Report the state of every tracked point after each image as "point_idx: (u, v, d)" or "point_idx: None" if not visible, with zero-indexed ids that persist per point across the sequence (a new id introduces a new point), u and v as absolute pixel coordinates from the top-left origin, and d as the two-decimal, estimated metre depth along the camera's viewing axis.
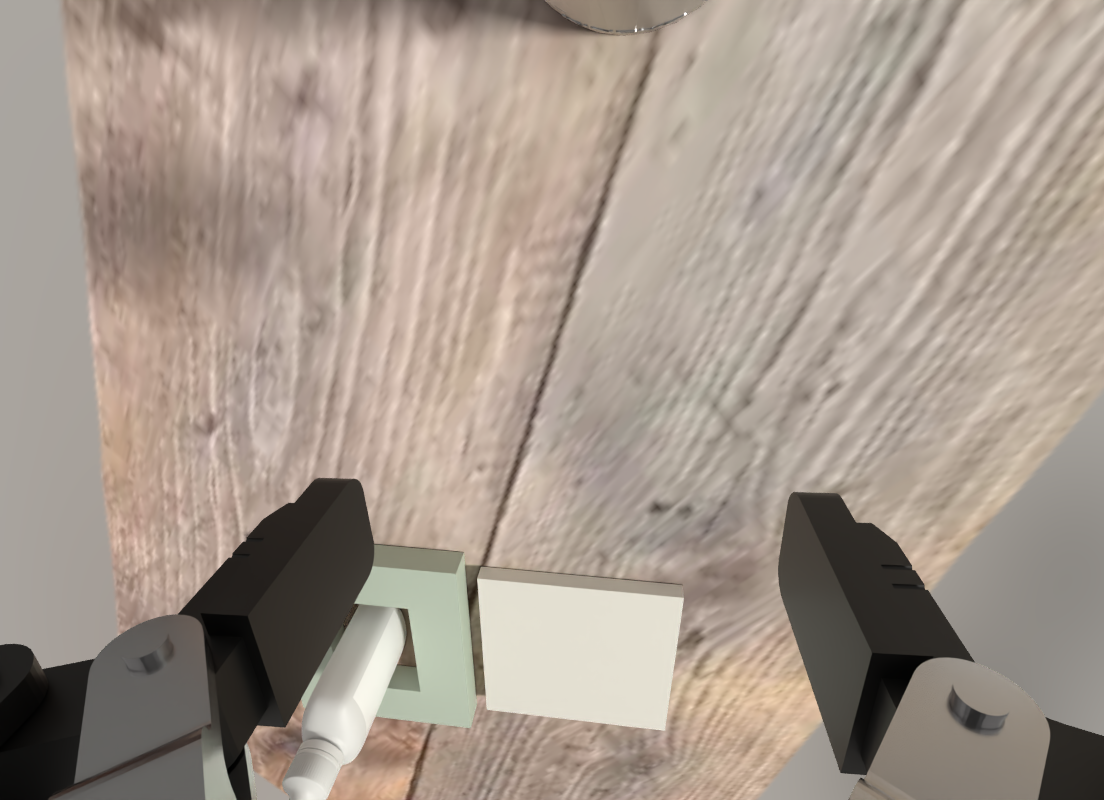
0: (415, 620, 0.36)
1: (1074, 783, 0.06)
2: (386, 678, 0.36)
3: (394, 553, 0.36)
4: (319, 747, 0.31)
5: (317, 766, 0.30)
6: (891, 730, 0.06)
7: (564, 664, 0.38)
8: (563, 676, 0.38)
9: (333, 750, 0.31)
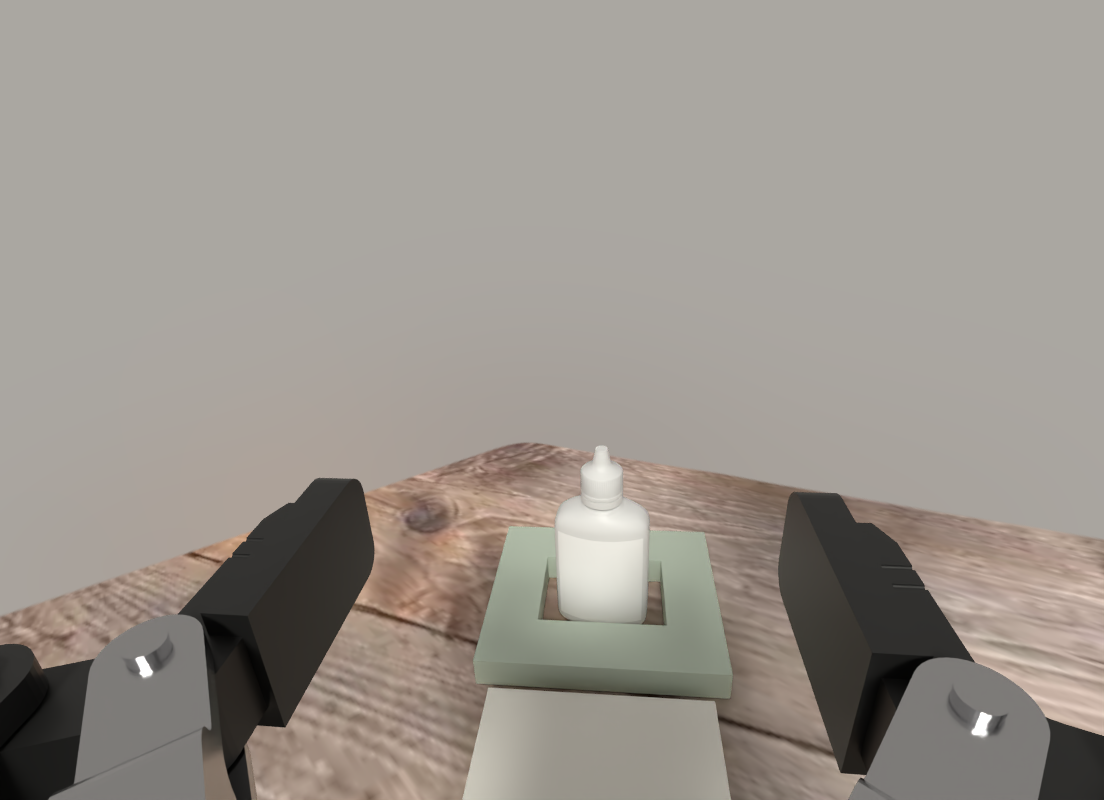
0: (651, 629, 0.34)
1: (1074, 783, 0.06)
2: (600, 583, 0.35)
3: None
4: (622, 495, 0.34)
5: (620, 485, 0.33)
6: (891, 730, 0.06)
7: (581, 795, 0.27)
8: (555, 791, 0.27)
9: (615, 504, 0.34)
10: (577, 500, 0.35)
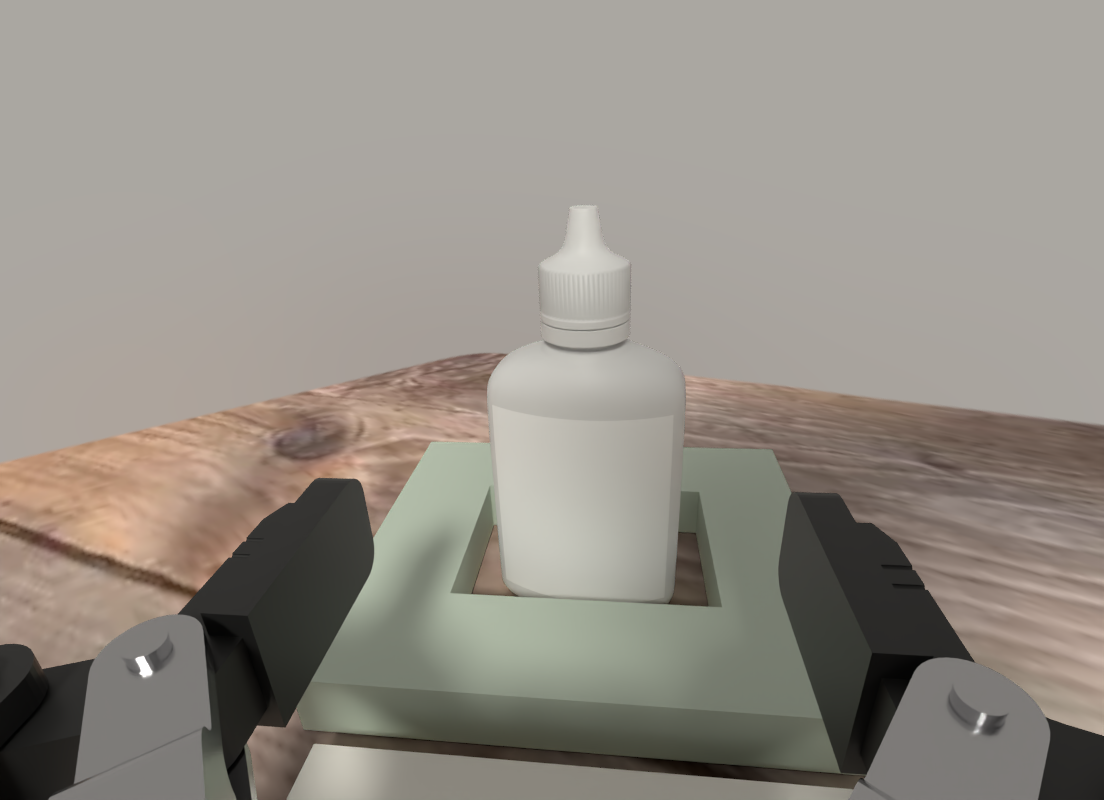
0: (689, 615, 0.16)
1: (1074, 783, 0.06)
2: (582, 517, 0.17)
3: None
4: (628, 322, 0.16)
5: (625, 293, 0.15)
6: (891, 730, 0.06)
7: None
8: None
9: (614, 335, 0.15)
10: (534, 345, 0.17)
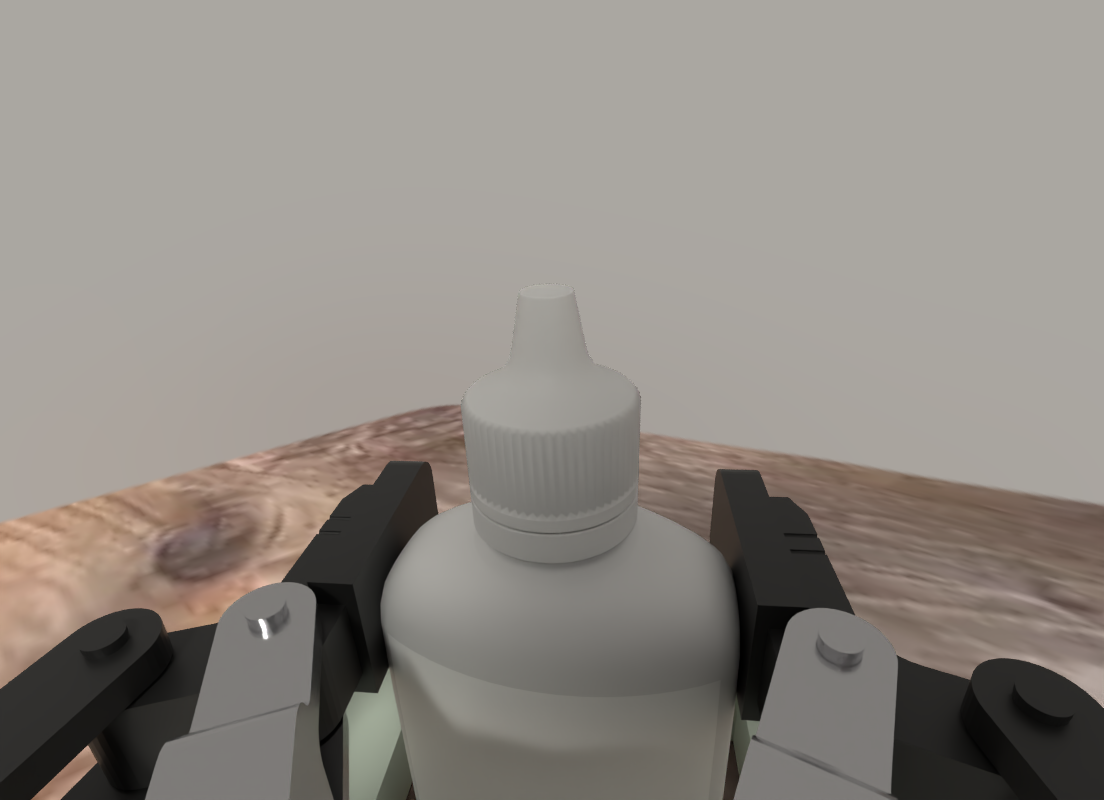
0: None
1: (919, 713, 0.07)
2: None
3: None
4: (635, 500, 0.08)
5: (629, 458, 0.08)
6: (773, 684, 0.07)
7: None
8: None
9: (606, 537, 0.08)
10: (467, 517, 0.10)
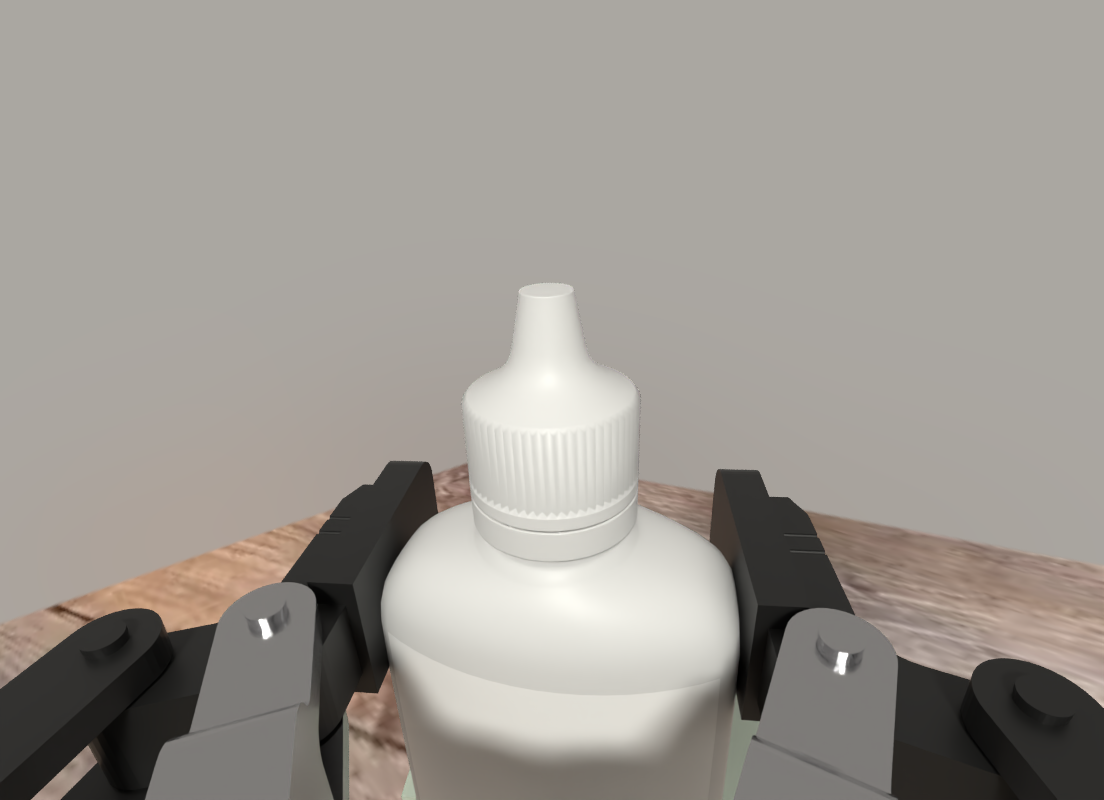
0: None
1: (919, 713, 0.07)
2: None
3: None
4: (635, 499, 0.08)
5: (629, 457, 0.08)
6: (773, 684, 0.07)
7: None
8: None
9: (607, 536, 0.08)
10: (468, 516, 0.10)
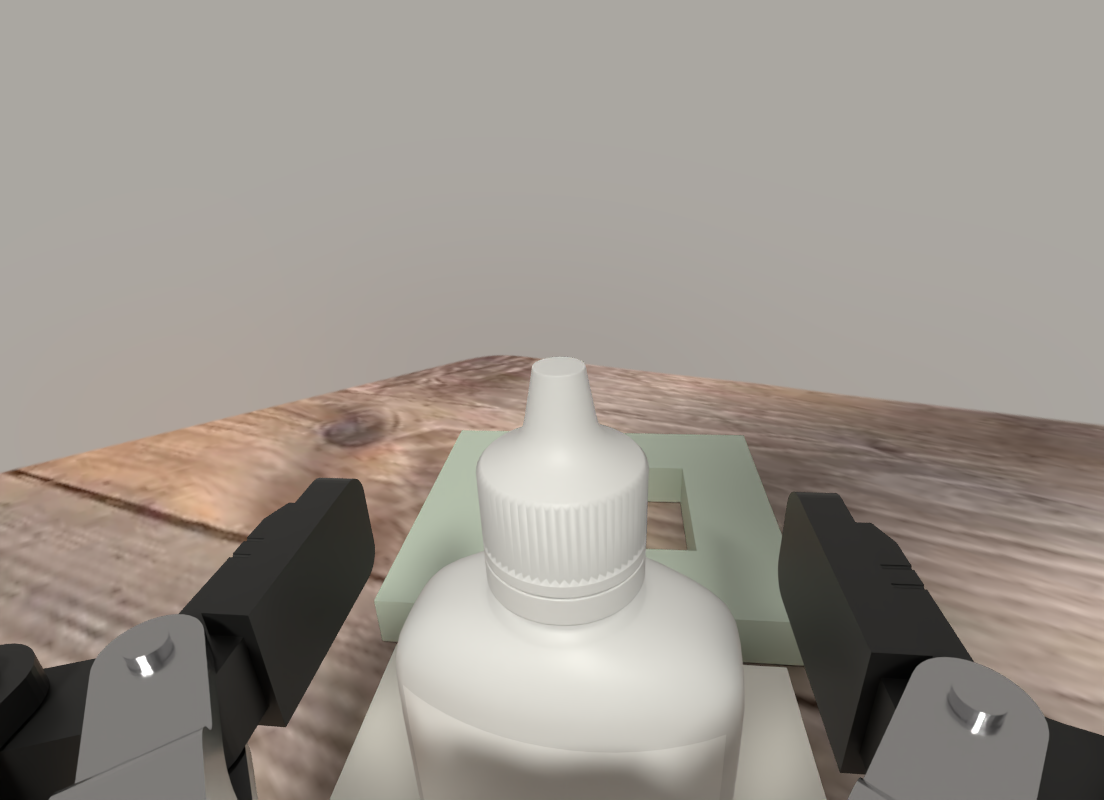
0: (671, 556, 0.21)
1: (1073, 782, 0.06)
2: None
3: None
4: (644, 560, 0.09)
5: (638, 524, 0.08)
6: (890, 729, 0.06)
7: None
8: None
9: (616, 600, 0.08)
10: (480, 570, 0.10)
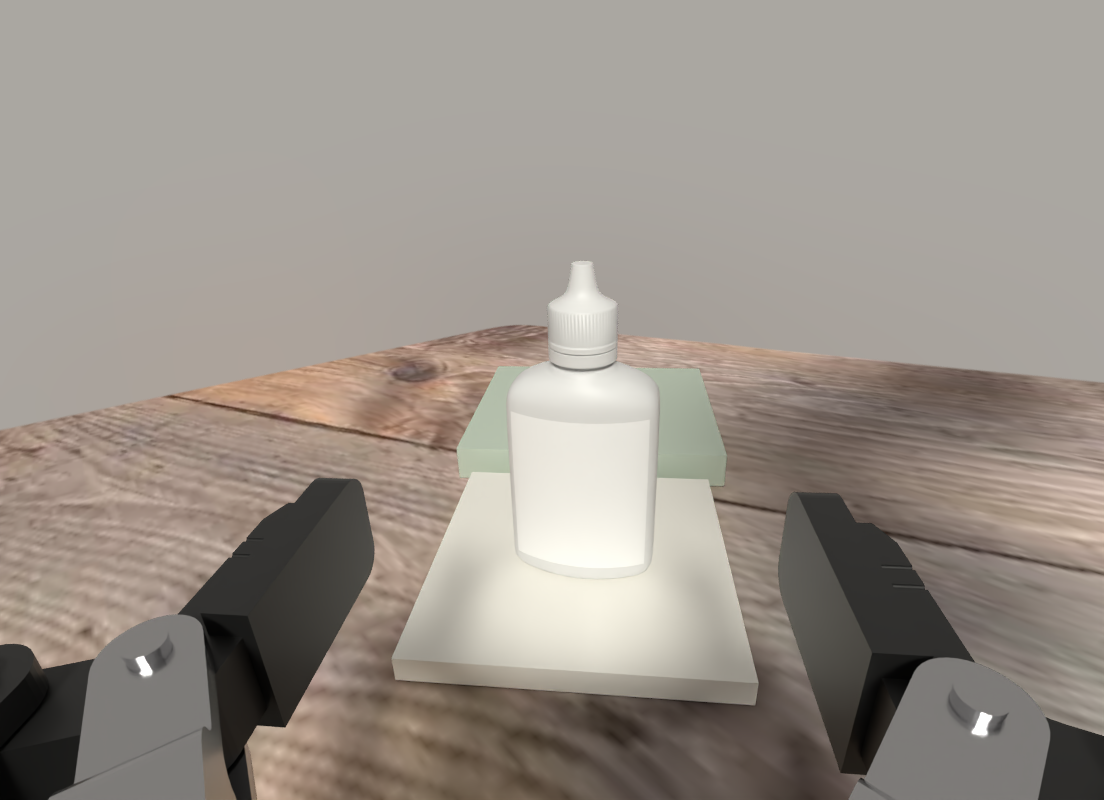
0: None
1: (1074, 783, 0.06)
2: (579, 499, 0.22)
3: None
4: (616, 349, 0.21)
5: (613, 328, 0.20)
6: (891, 730, 0.06)
7: None
8: None
9: (604, 359, 0.20)
10: (543, 364, 0.22)
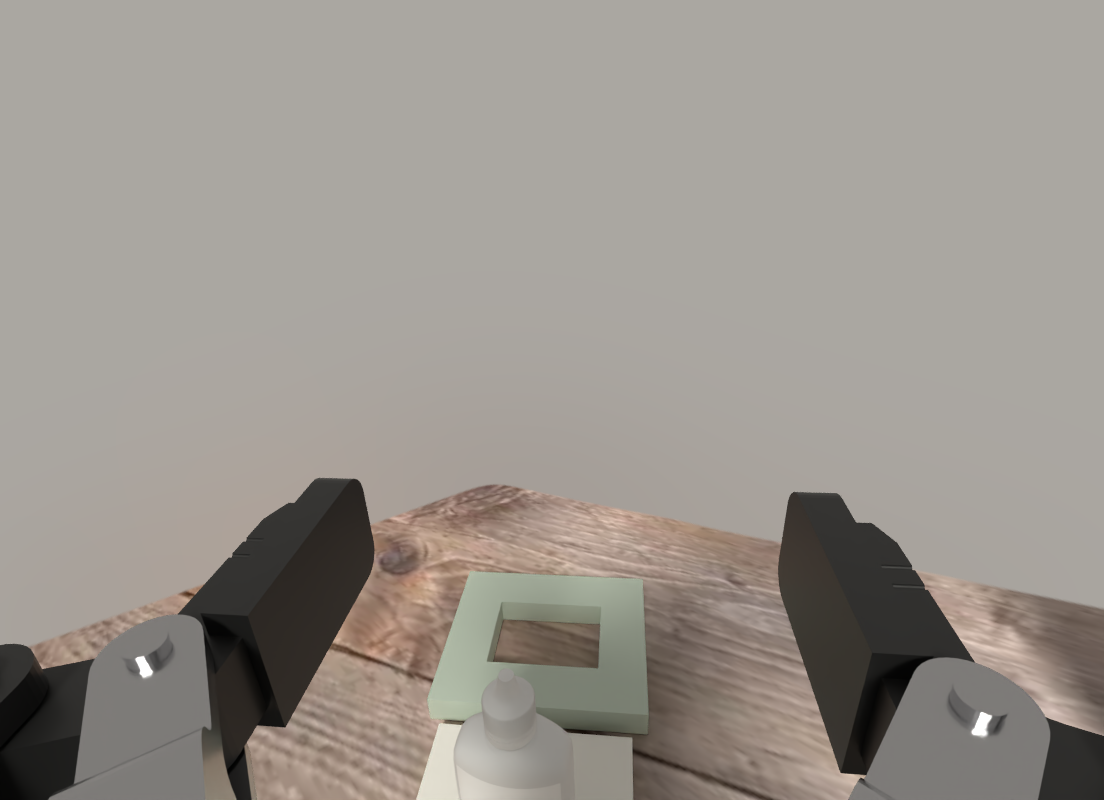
0: (584, 672, 0.39)
1: (1074, 783, 0.06)
2: None
3: None
4: (534, 727, 0.27)
5: (530, 720, 0.26)
6: (891, 730, 0.06)
7: None
8: None
9: (524, 742, 0.26)
10: (482, 723, 0.28)
